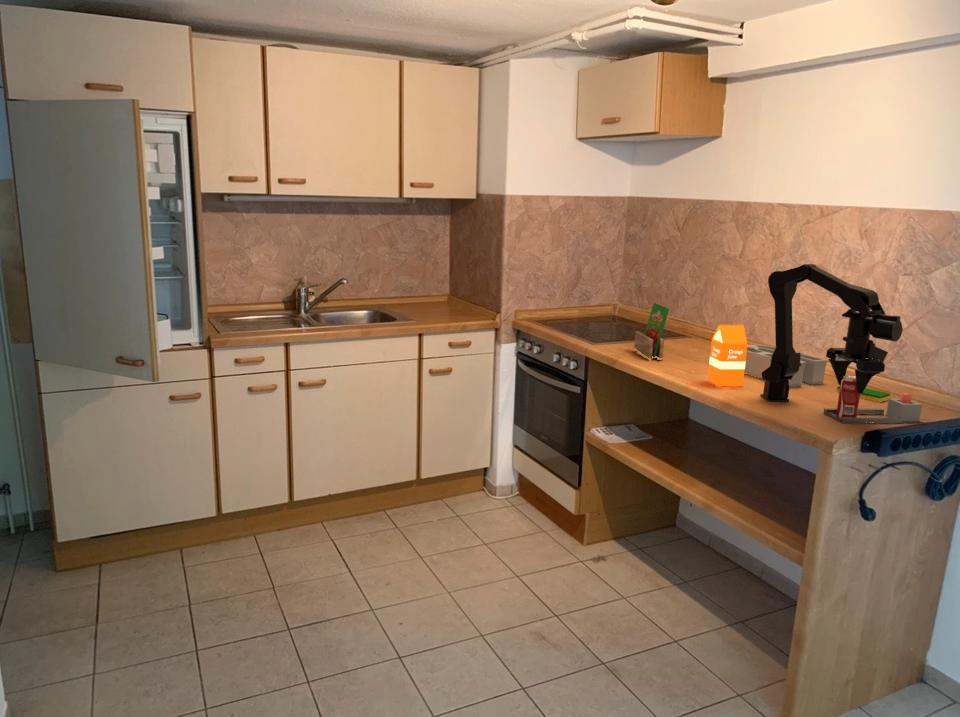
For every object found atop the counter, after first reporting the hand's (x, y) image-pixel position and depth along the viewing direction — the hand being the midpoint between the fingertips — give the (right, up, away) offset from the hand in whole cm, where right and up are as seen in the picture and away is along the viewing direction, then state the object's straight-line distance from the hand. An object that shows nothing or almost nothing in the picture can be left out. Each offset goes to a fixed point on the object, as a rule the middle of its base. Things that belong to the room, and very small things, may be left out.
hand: (850, 389), depth 210 cm
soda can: (0, -9, +2) cm, 9 cm away
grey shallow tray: (+5, -8, +2) cm, 10 cm away
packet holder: (-40, +10, +76) cm, 86 cm away
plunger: (+17, -7, +3) cm, 19 cm away
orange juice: (-24, 0, +36) cm, 43 cm away
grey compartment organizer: (-2, +2, +50) cm, 50 cm away
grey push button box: (+17, -9, +4) cm, 19 cm away
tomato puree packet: (-41, +9, +76) cm, 86 cm away
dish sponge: (+18, -4, +28) cm, 33 cm away
